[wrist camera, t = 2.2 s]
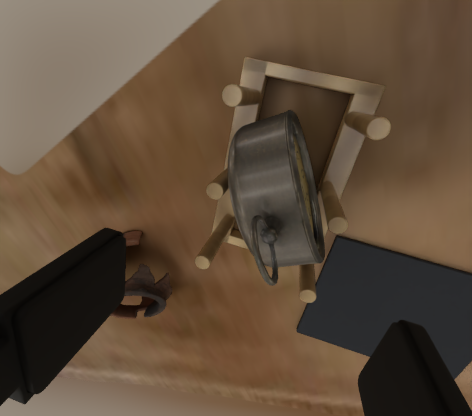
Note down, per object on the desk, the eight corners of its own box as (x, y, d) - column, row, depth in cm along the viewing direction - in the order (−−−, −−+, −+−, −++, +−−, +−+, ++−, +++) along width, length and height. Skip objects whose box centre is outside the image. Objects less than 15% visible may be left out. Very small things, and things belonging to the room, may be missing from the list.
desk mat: (528, 289, 24) (533, 293, 24) (448, 380, 30) (450, 384, 30) (336, 234, 27) (337, 237, 26) (296, 328, 32) (296, 332, 32)
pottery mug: (161, 219, 31) (154, 281, 26) (185, 260, 38) (184, 316, 33) (67, 239, 32) (40, 303, 26) (107, 275, 39) (93, 332, 33)
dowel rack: (380, 86, 21) (435, 77, 12) (311, 260, 28) (315, 330, 20) (248, 59, 22) (215, 33, 14) (215, 231, 30) (179, 284, 21)
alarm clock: (322, 216, 26) (349, 362, 12) (271, 225, 28) (237, 363, 13) (298, 105, 23) (292, 114, 8) (241, 124, 25) (154, 158, 10)
